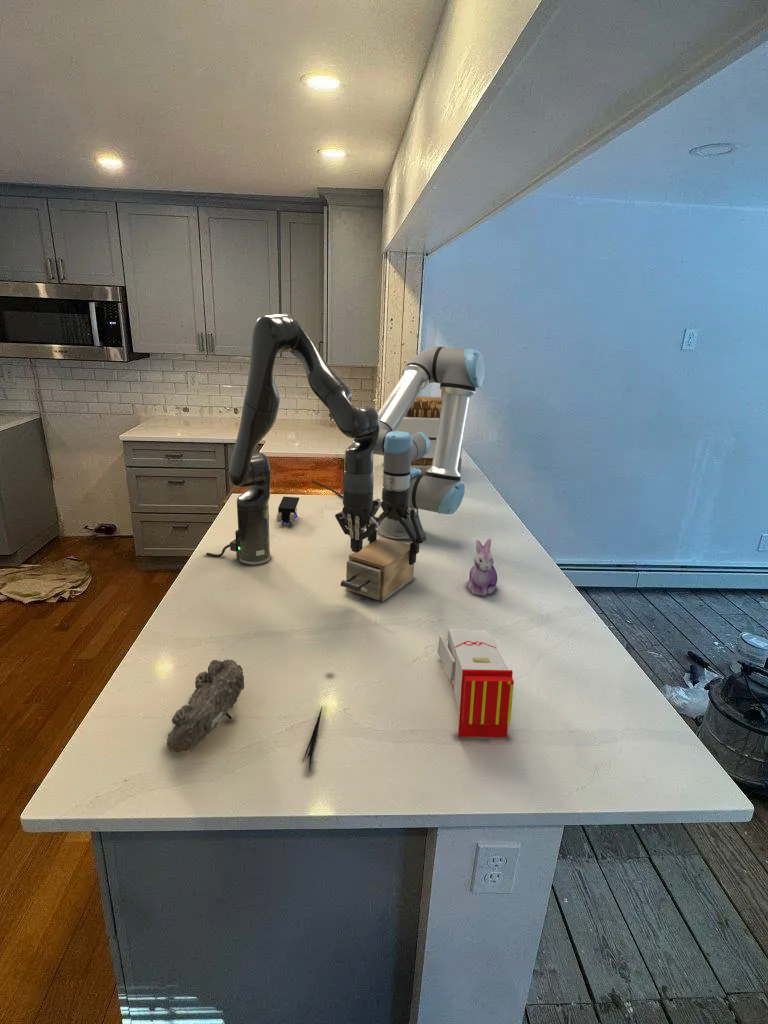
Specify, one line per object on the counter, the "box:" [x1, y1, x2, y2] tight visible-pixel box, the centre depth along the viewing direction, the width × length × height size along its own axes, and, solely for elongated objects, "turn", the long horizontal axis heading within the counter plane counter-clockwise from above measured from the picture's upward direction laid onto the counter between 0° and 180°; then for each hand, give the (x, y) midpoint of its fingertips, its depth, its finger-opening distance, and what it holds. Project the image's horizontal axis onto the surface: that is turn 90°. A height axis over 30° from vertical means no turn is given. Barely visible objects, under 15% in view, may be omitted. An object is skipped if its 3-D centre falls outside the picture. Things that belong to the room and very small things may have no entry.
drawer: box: [340, 559, 381, 601], centre depth 157 cm, size 22×10×8 cm, turn 148°
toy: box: [437, 628, 515, 738], centre depth 117 cm, size 12×13×30 cm
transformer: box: [383, 391, 464, 475], centre depth 268 cm, size 34×33×41 cm
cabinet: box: [348, 536, 415, 602], centre depth 161 cm, size 17×12×10 cm
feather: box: [301, 673, 332, 771], centre depth 108 cm, size 2×28×2 cm
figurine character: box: [276, 495, 300, 527], centre depth 205 cm, size 7×8×15 cm
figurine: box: [467, 538, 498, 596], centre depth 160 cm, size 9×10×15 cm
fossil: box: [166, 658, 245, 754], centre depth 106 cm, size 22×10×15 cm
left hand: (356, 551), depth 147 cm, fingers closed
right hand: (392, 557), depth 165 cm, fingers open, 13 cm apart
